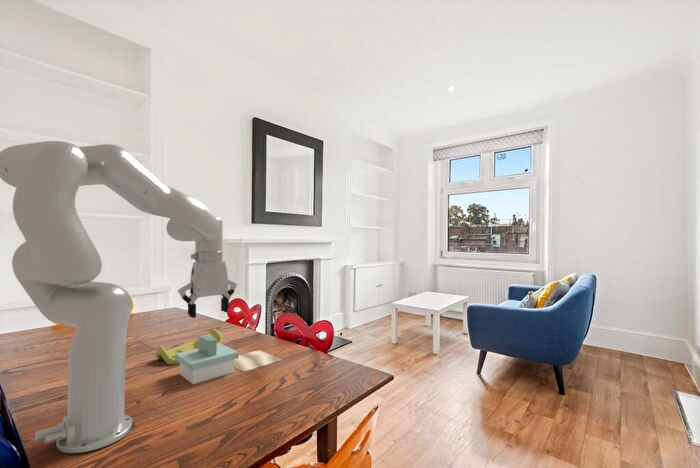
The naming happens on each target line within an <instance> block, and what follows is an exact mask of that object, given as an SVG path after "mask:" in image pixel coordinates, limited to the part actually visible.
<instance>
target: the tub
mask: <svg viewBox="0 0 700 468" xmlns="http://www.w3.org/2000/svg"><path fill="white" fill-rule="evenodd" d="M232 373H235V367H234V359H233V360H230V361H226V362H222V363H218V364H215V365H211V366H207V367H204V368H200V369H196V370H192V371H191V370H189V369H188V368H186V367H185V366H184V365H182V364H181V363H179V375H180V376H182V377H183V378H184V379H185V380H186V381H188V382H189V383H190V384H192V385H196V384H199V383H202V382H206V381H209V380H213V379H216V378H219V377H222V376H226V375H229V374H232Z"/></svg>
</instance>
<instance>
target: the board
mask: <svg viewBox="0 0 700 468" xmlns="http://www.w3.org/2000/svg"><path fill="white" fill-rule="evenodd" d="M282 361H283V359H281V358H279V357H277V356H275V355H272V354H270V353H268V352H265V351H263V350H261V349H258V350H254V351H249V352H246V353H242V354H238V358H237V359H234V369H237V370H238V371H240V372H241V373H246V372H248V371H253V370H256V369H259V368H262V367H266V366H269V365H273V364H275V363H276V364H277V363H279V362H282Z"/></svg>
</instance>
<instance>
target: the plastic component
mask: <svg viewBox="0 0 700 468" xmlns="http://www.w3.org/2000/svg"><path fill="white" fill-rule="evenodd" d="M204 335H208V336H210V337H213V338H215V339H217V344H220V343H221V344H222V342H223V335H222V334H221V332H219V331H218V330H217V329H216V328H212V329H211V330H209V332H208V333H205V334H204ZM198 344H199V337H197V338H196V340H194V341H191V342H189V343H185V344H182V345H179V346H175V347H173V348H170V349H168V350H166V349H165V347H164V346H163V345H159V346H158V348H157V351H156V354H155V358H157V360H160V361H161V360H164V362H165V364H166V365H179V364H180V363H179V362H178V361H177V360H175V356H176V353H180V352H185V351H189V350H194V349H198Z"/></svg>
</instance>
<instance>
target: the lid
mask: <svg viewBox="0 0 700 468" xmlns="http://www.w3.org/2000/svg"><path fill="white" fill-rule="evenodd" d="M198 338H199V344H198V349H194V350H189V351H185V352H180V353H176V356H175V360H177V361H178V362H179V363H178V364H180V363H181V364H182V365H184V366H185V367H186V368H188V369H189V370H191V371H192V370H196V369H200V368H204V367H207V366H211V365H215V364H218V363H222V362H226V361H230V360H233V359H237V358H238V355H239V351H236V350H235V349H232V348H231V347H229V346H227V345H224V344H223V343H222V342H221V343H220V344H217V339H215V338H213V337H210V336H208V335H205V334H204V335H203V334H202V335H199V336H198Z"/></svg>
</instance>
